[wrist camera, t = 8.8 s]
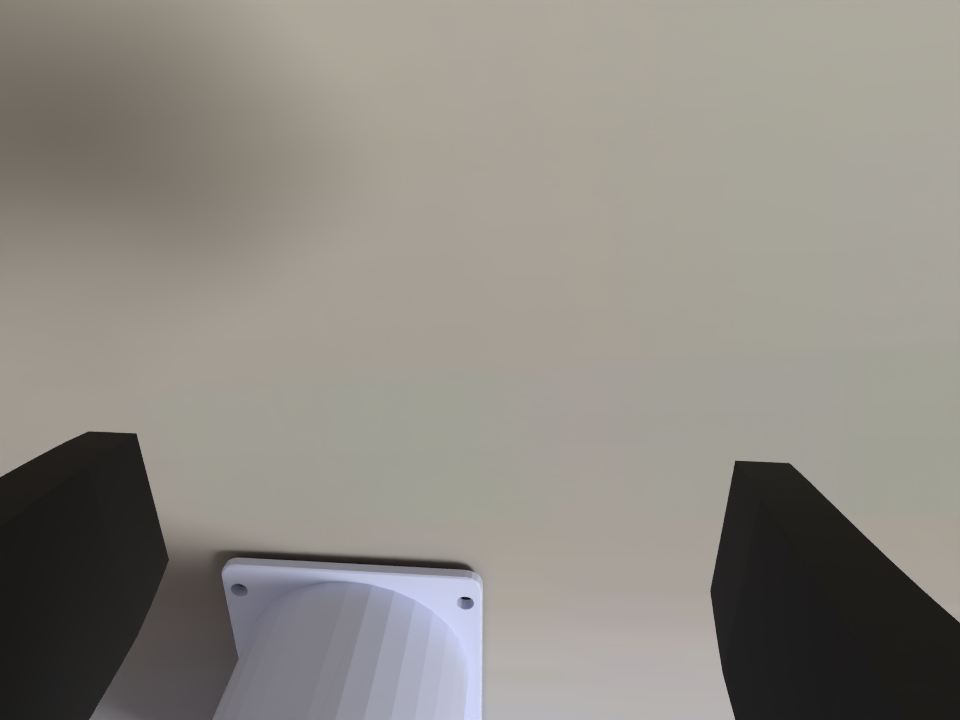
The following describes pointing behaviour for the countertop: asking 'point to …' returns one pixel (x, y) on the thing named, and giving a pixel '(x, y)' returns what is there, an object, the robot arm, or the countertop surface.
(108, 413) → the countertop surface
